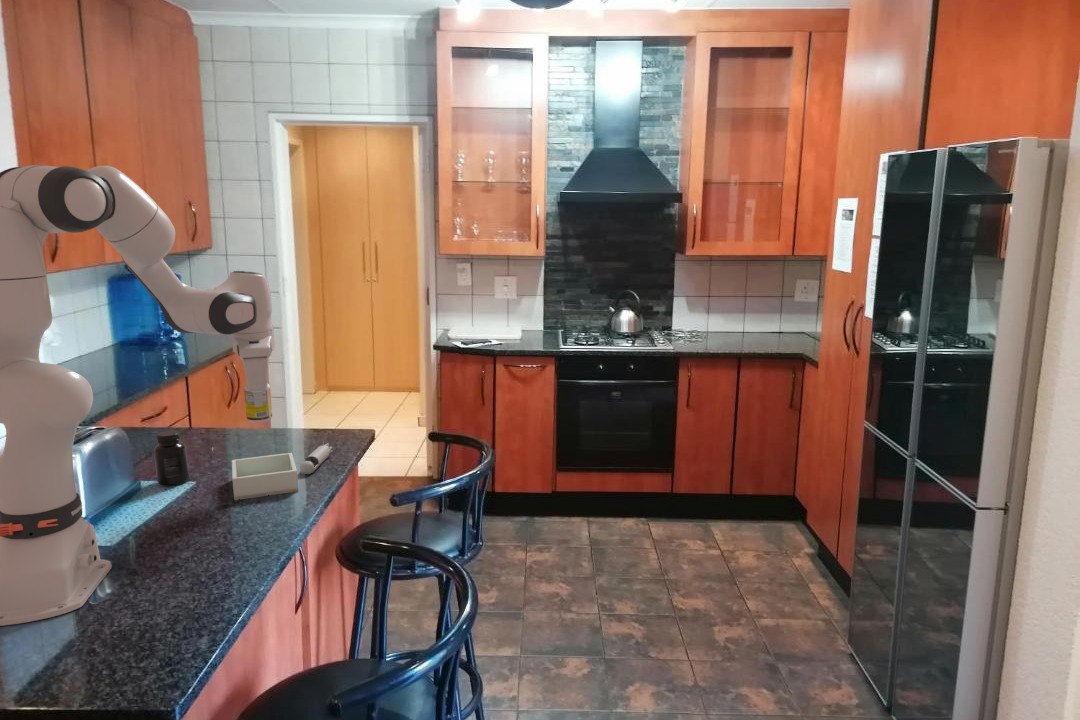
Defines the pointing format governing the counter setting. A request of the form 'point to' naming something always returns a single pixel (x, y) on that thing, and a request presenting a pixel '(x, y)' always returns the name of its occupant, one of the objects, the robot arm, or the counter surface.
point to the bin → (264, 476)
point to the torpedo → (315, 459)
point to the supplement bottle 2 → (258, 413)
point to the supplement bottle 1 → (171, 459)
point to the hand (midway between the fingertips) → (258, 402)
